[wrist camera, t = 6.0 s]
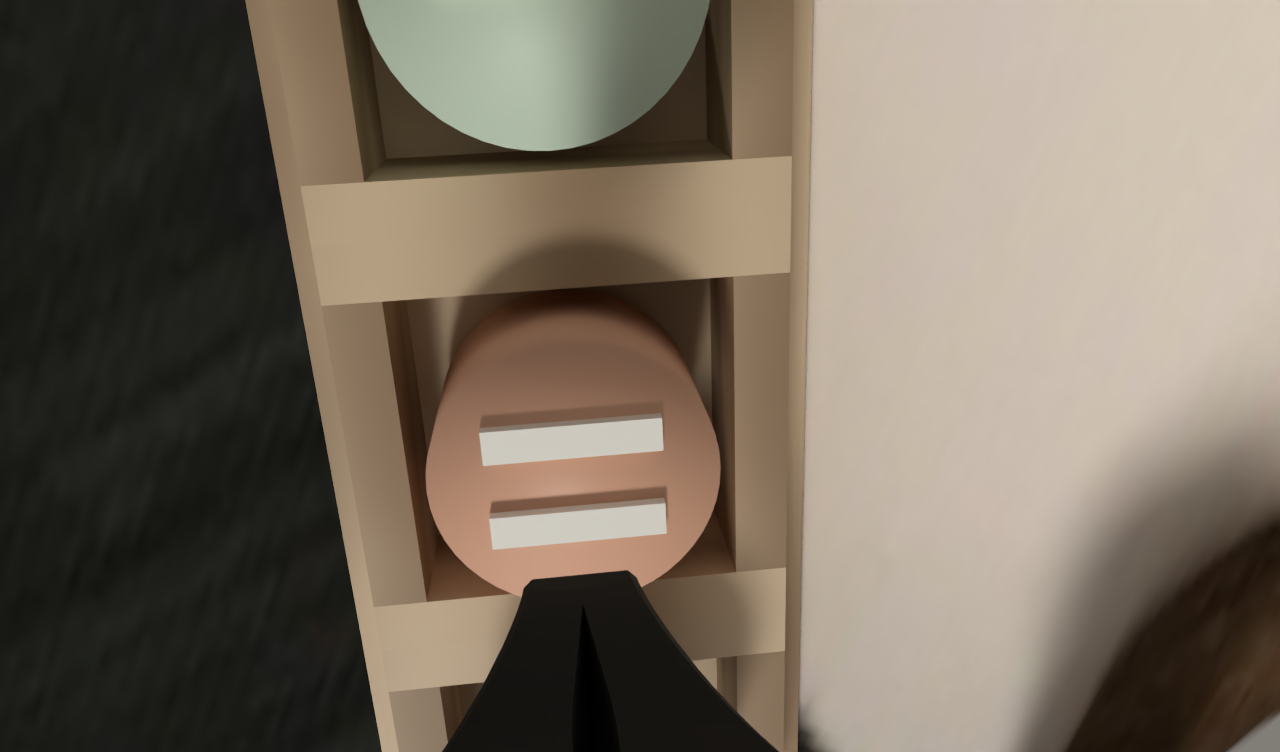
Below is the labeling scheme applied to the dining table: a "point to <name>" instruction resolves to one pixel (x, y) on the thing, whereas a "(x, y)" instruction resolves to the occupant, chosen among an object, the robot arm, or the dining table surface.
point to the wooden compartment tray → (541, 261)
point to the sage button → (536, 62)
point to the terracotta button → (570, 444)
